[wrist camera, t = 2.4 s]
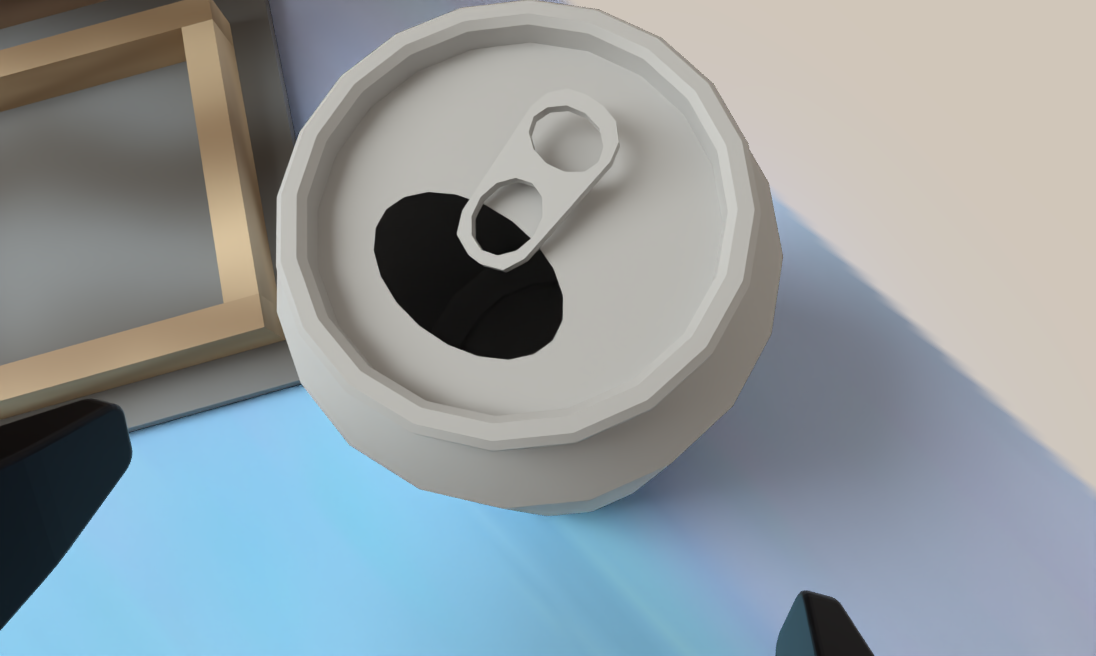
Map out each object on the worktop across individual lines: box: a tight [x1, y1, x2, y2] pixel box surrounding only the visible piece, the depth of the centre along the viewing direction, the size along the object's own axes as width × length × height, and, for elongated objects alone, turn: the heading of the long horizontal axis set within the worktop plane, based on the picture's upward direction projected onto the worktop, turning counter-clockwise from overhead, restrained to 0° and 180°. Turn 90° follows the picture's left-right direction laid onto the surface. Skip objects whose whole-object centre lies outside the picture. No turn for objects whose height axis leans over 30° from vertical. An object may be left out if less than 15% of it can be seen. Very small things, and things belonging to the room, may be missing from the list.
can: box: [276, 0, 783, 516], centre depth 15 cm, size 8×8×12 cm
